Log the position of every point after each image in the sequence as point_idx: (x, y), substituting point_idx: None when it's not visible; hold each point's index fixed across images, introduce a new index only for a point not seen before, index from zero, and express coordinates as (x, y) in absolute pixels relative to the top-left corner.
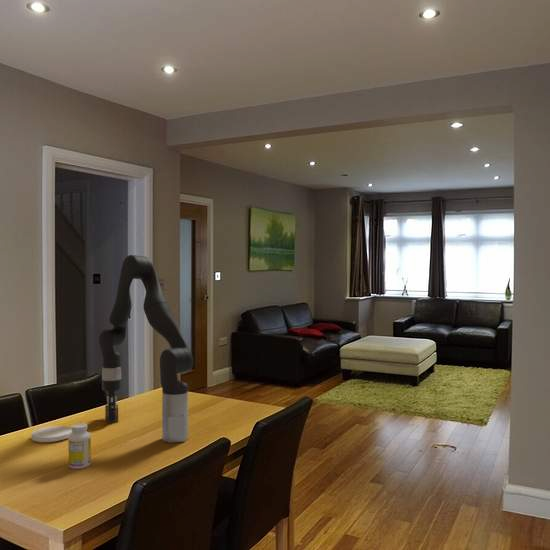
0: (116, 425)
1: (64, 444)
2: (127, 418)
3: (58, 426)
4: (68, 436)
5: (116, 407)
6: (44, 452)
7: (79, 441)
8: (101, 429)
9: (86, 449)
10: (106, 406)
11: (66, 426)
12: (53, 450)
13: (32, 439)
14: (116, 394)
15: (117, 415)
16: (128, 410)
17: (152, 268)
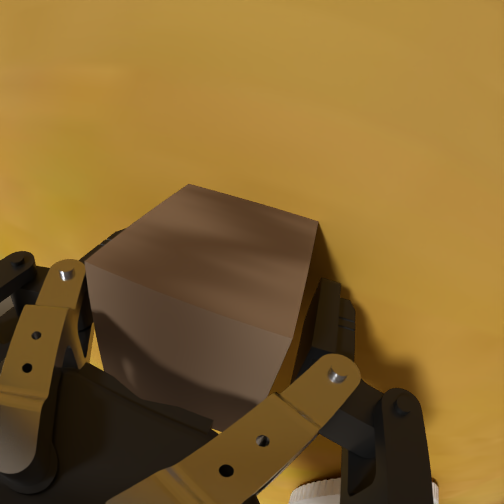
0: (419, 275)
1: (469, 480)
2: (221, 89)
3: (306, 501)
4: (434, 486)
5: (272, 356)
6: (475, 498)
7: None
8: (426, 383)
9: None
10: (160, 401)
11: (330, 495)
12: (483, 490)
13: None
14: (23, 469)
15: (308, 268)
16: (12, 65)
17: None
